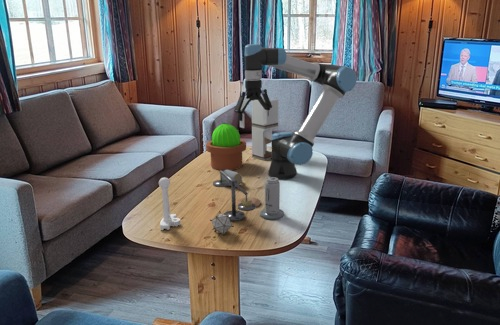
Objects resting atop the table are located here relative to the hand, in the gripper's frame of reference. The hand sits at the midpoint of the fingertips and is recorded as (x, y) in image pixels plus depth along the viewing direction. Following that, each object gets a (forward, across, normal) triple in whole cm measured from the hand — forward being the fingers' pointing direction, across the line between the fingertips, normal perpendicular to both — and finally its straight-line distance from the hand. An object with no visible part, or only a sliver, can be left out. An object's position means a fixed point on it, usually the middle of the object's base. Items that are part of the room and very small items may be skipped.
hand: (253, 125), depth 210 cm
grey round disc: (+32, -13, -29) cm, 45 cm away
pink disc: (+32, -13, -13) cm, 37 cm away
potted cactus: (+32, +11, +40) cm, 52 cm away
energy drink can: (+31, -13, -29) cm, 44 cm away
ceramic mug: (+32, -4, +12) cm, 35 cm away
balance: (+32, -27, -21) cm, 47 cm away
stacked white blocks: (+32, +39, +40) cm, 64 cm away
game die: (+32, -39, -30) cm, 59 cm away
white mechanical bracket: (+32, -51, -11) cm, 61 cm away
